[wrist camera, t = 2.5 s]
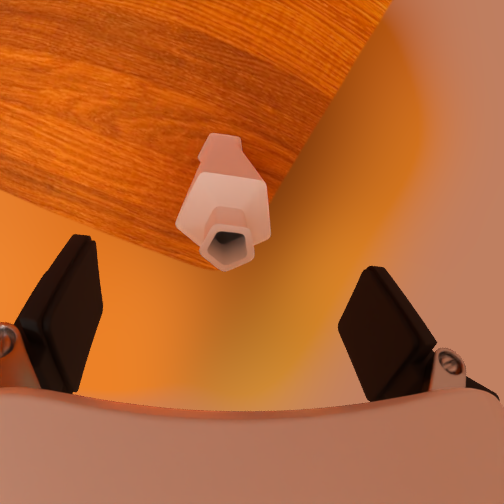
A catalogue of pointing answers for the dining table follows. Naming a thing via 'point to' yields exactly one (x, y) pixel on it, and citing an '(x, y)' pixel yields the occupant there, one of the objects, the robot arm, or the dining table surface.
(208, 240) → the perfume bottle
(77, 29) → the dining table surface
